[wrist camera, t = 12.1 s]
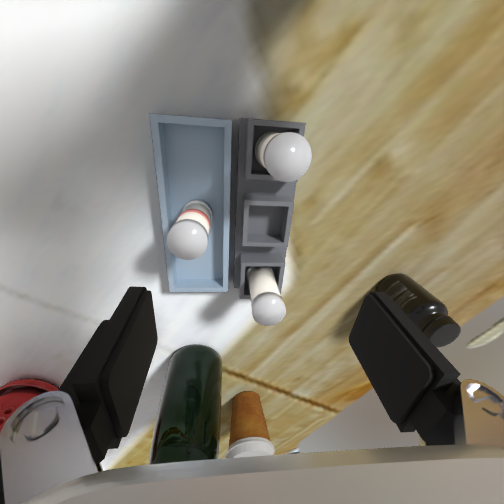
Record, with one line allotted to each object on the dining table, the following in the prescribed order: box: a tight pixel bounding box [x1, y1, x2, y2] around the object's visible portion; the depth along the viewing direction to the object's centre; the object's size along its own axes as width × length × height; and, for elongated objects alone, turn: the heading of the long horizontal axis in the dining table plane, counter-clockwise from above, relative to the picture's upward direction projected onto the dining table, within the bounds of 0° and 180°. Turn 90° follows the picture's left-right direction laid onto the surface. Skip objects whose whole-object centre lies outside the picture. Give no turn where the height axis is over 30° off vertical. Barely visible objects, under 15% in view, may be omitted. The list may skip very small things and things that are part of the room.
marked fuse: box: [167, 199, 213, 260], centre depth 30 cm, size 4×4×10 cm
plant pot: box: [0, 379, 59, 432], centre depth 43 cm, size 13×13×12 cm
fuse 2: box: [246, 266, 286, 326], centre depth 34 cm, size 4×4×10 cm
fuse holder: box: [234, 118, 306, 298], centre depth 34 cm, size 25×8×4 cm, turn 176°
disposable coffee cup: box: [226, 391, 274, 458], centre depth 51 cm, size 10×10×12 cm
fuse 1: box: [254, 132, 311, 182], centre depth 26 cm, size 4×4×10 cm
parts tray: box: [150, 114, 232, 292], centre depth 33 cm, size 24×9×3 cm, turn 176°
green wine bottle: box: [149, 345, 222, 465], centre depth 34 cm, size 10×10×33 cm
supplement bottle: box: [376, 274, 461, 347], centre depth 39 cm, size 7×7×12 cm
